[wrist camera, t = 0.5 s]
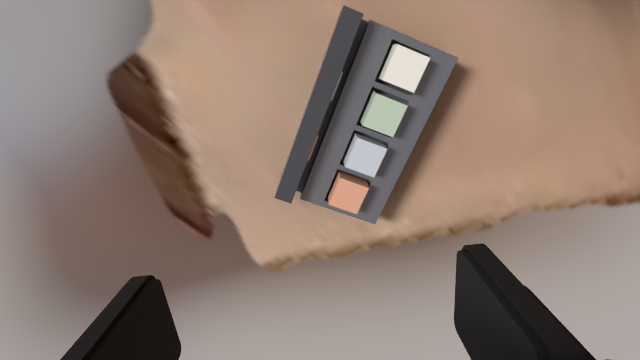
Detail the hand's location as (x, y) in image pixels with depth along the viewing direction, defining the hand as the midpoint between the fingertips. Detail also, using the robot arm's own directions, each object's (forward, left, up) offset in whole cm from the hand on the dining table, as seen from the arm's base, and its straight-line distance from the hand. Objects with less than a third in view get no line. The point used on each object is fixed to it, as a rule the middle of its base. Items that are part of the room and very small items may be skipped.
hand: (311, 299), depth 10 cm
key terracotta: (+7, +6, -29) cm, 30 cm away
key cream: (-8, +6, -29) cm, 31 cm away
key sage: (-3, +6, -29) cm, 30 cm away
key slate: (+2, +6, -29) cm, 30 cm away
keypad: (-1, +5, -32) cm, 32 cm away
